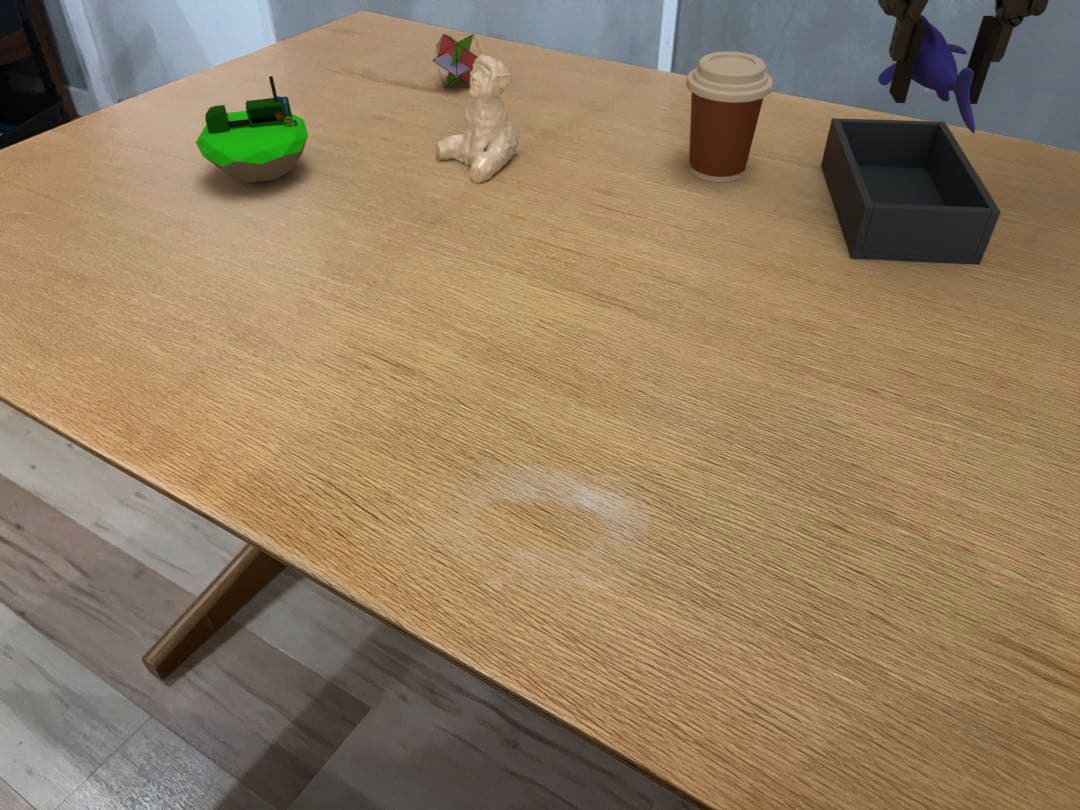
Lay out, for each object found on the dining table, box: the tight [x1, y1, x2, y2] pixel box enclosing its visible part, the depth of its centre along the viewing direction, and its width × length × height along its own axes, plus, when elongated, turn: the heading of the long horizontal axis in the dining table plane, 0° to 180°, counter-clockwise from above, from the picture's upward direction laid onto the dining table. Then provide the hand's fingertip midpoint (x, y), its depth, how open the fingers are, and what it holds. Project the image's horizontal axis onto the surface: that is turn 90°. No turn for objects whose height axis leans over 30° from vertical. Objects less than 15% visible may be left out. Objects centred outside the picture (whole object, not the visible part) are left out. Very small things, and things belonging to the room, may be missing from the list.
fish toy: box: [877, 14, 976, 134], centre depth 71 cm, size 15×8×7 cm, turn 1°
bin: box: [820, 117, 1002, 265], centre depth 85 cm, size 12×20×6 cm, turn 174°
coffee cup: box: [685, 50, 774, 183], centre depth 90 cm, size 9×9×12 cm
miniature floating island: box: [195, 75, 309, 183], centre depth 91 cm, size 12×12×11 cm
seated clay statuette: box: [435, 53, 520, 184], centre depth 93 cm, size 10×9×12 cm
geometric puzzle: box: [431, 33, 483, 89], centre depth 112 cm, size 7×7×8 cm
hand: (932, 97), depth 73 cm, fingers closed on fish toy, 5 cm apart
